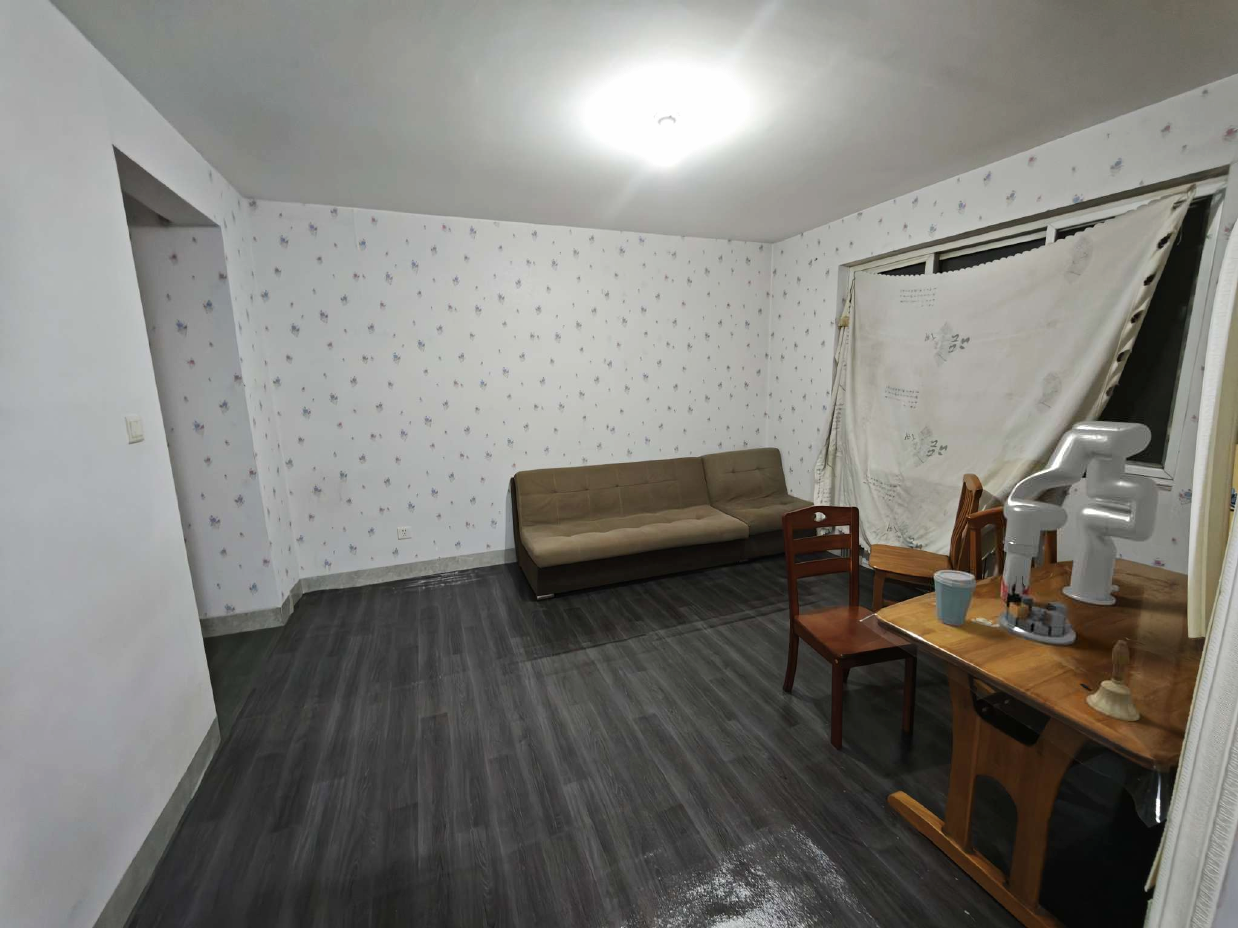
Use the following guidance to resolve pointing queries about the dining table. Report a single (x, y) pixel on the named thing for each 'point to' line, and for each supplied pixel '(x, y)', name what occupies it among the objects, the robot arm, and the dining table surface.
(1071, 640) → the base
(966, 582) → the disposable coffee cup
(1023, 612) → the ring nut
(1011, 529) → the robot arm
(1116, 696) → the hand bell
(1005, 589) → the soda can
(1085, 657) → the dining table surface
